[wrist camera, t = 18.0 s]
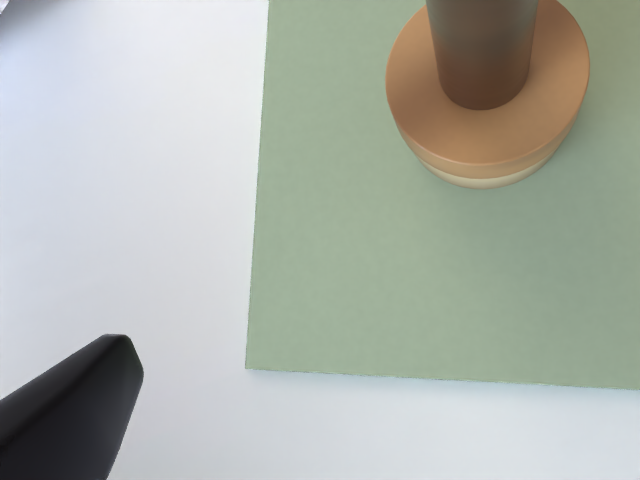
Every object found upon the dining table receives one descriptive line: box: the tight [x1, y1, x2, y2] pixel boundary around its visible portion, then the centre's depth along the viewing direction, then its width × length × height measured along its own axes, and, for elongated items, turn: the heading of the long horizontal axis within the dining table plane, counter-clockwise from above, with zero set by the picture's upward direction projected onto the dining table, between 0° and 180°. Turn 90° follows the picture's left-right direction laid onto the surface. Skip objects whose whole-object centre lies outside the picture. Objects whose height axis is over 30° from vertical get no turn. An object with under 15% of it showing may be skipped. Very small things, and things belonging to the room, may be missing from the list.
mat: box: [245, 0, 640, 390], centre depth 24 cm, size 22×16×1 cm
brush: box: [385, 0, 590, 189], centre depth 17 cm, size 6×6×13 cm
